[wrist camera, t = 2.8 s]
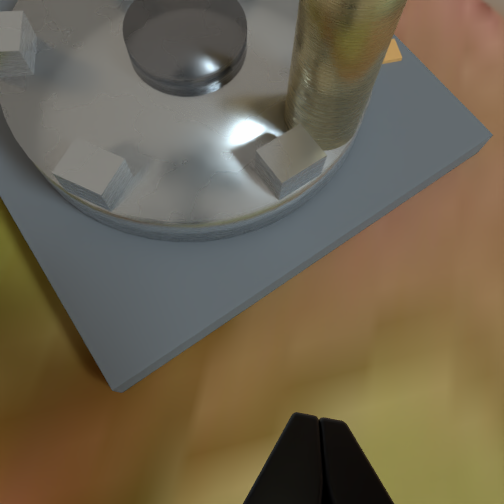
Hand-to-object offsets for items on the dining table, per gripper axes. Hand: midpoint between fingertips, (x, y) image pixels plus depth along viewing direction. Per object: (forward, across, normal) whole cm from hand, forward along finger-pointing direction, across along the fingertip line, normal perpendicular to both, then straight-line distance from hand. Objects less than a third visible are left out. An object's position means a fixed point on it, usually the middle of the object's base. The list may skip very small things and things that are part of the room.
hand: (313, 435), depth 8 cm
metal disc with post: (+18, +6, -3) cm, 19 cm away
